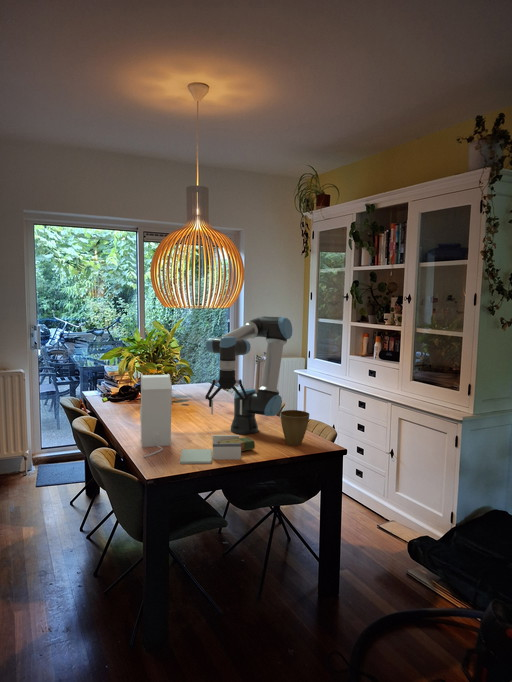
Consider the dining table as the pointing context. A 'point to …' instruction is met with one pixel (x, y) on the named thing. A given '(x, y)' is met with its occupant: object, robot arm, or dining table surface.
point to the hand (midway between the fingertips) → (226, 414)
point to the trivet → (196, 456)
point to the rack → (226, 447)
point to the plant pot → (294, 426)
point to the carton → (242, 443)
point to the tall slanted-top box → (155, 411)
